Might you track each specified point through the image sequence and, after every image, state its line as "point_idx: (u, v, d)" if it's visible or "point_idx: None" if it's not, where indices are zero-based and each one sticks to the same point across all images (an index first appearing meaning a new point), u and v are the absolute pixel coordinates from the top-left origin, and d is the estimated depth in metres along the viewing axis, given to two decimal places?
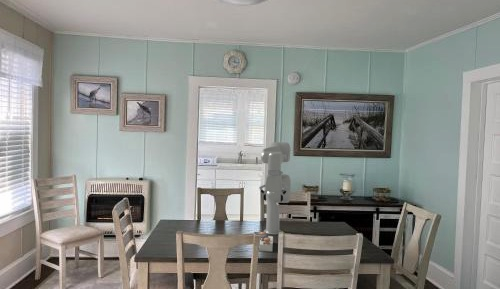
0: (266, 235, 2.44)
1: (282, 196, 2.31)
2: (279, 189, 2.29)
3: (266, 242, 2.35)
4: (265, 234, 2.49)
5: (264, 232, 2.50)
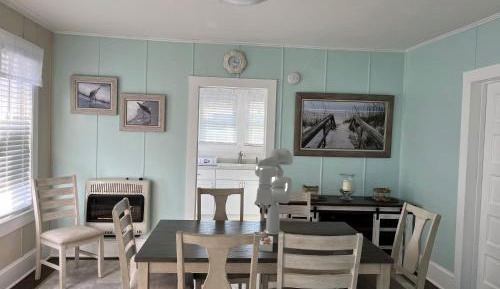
0: (266, 235, 2.44)
1: (267, 209, 2.48)
2: (269, 201, 2.47)
3: (266, 242, 2.35)
4: (265, 234, 2.49)
5: (264, 232, 2.50)
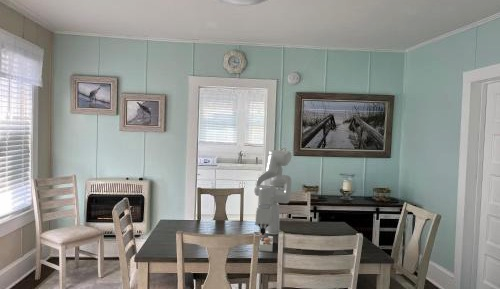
0: (266, 235, 2.44)
1: (264, 229, 2.49)
2: (268, 221, 2.47)
3: (266, 242, 2.35)
4: None
5: (264, 233, 2.51)
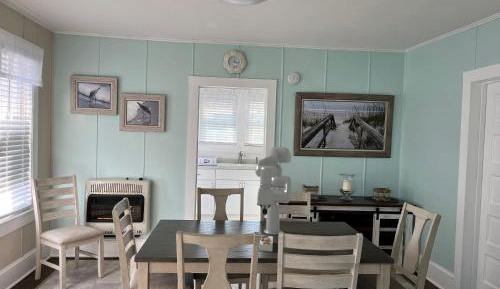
0: (266, 235, 2.44)
1: (266, 210, 2.43)
2: (270, 201, 2.42)
3: (266, 242, 2.35)
4: None
5: None
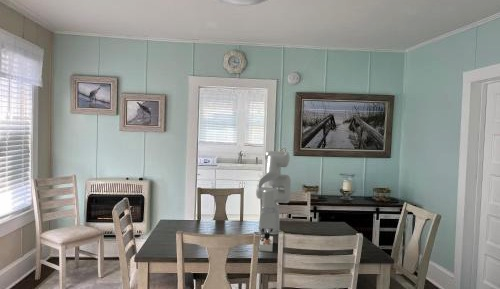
0: None
1: (269, 234, 2.35)
2: (273, 225, 2.34)
3: (266, 243, 2.35)
4: None
5: None
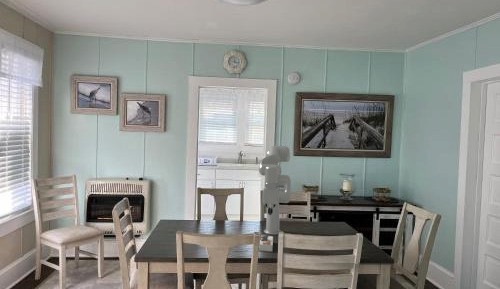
0: (266, 235, 2.44)
1: (272, 209, 2.40)
2: (276, 201, 2.38)
3: None
4: None
5: None
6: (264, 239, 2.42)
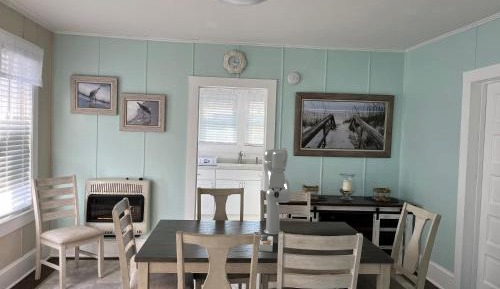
0: (266, 235, 2.44)
1: (278, 193, 2.54)
2: (282, 185, 2.52)
3: None
4: None
5: None
6: (264, 239, 2.42)
